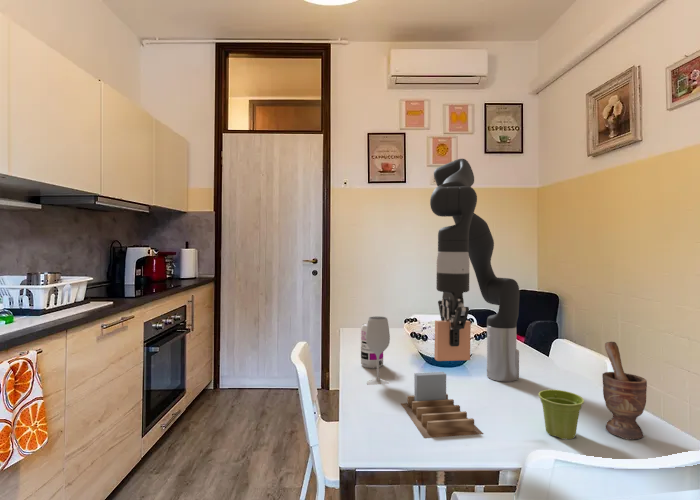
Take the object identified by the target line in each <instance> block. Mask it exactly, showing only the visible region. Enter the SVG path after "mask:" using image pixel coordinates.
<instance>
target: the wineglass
mask: <svg viewBox="0 0 700 500" xmlns="http://www.w3.org/2000/svg"><path fill="white" fill-rule="evenodd" d="M367 323H368V324H367V331H366V343H367V346H368V347H369V348H370V350H371V351H372V352H374V353H375V354H376V357H377V368H376V377H375V379H370V380H368V381H366V385H367V386H375V385H377V386H378V385H389V384H390V382H389V381H388V380H386V379H385V380H384V379H382V378H381V377H380V367H379V356H380V354H381V353H382V352H383V353H384V352H385V351H386V350H387V348H388V347H389V346H390V340H391V337H390V336H391V335H390V327H389V321H388V317H386V316H369V317H368V319H367Z"/></svg>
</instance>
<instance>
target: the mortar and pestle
mask: <svg viewBox="0 0 700 500" xmlns="http://www.w3.org/2000/svg"><path fill="white" fill-rule="evenodd" d="M604 348H605V352H606V355H607V357H608V359H609V361H610V365H611V368H612V370H613V371H605V372H603V373H602V375H601V376H602V393H603V394H602V395H603V400H604V403H605V407H606V408H607V410H608V411H609V412H610V413H611V414H612V418H610V419H609V420H607V421H606V424H605V431H607V432H608V433H610V434H612V435H615V436H616V437H619V438H622V439H625V440H628V441H629V440H637V439H642V438H644V433H643V430H642V428H641V426H640V425H639V424H638V422H637V421H636V420H637V418H638V417H640V416H641V415H643V413H644V411H645V407H646V404H647V392H648V391H647V390H648V389H647V388H648V382H647V381H648V380H647V379H645V378H644V377H642V376H639V375H636V374H631V373H626V372H625V370H624V368H623V364H622V359H621V354H620V349H619V346H618V344H617V343H616V342H615V341H608V342H607V341H606V342H605V343H604Z"/></svg>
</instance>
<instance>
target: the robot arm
mask: <svg viewBox="0 0 700 500" xmlns="http://www.w3.org/2000/svg"><path fill="white" fill-rule="evenodd" d="M433 179H434V181H435V183H436V187H435V188H434V189H433V190H432V192H431V193H432V194H431V196H430V200H429V204H430V205H429V206H430V210H431V211H432V213H433V214H434V215H435V216H438V217H446V218H447V217H452V219H453V222H454V224H453V225H448V226H447V225H446V226H443V227H440V228H439V229H438V231H437V233H438V234H437V256H436V285H435V286H436V290H437V291H438V292H442V299H441V300H438V301H437V305H438V309H439V310H438V311H439V316H440V321H449V329H450V340H449V344H450V346H459V330H461V329H464V327H465V323H466V320H467V319H468V317H469V312H470V308H469V306H465V305H464V303H465V302H464V295H463V294H464V293H468V292H469V291H470V263H471V265H472V268H473V270H474V274H475V277H476V281H477V284H478V287H479V288H478V289H479V291H480V294H481V296H482V298H483V300H484V301H485V302H486V303H487V304H490V305H496V306H498V312H497V313H496V314H491V315H489V316H487V319H486V377H487V378H488V379H491V380H494V381H497V382H505V383H506V382H514V381H517V380H520V351H519V349H518V348H517V323H518V318H519V314H520V311H519V310H520V297H521V296H520V295H521V292H520V287H519V284H518V282H517V281H516V279H513V278H508V277H497V276H496V274H495V272H494V270H493V266H492V263H491V261H492V257H493V254H494V253H493V252H494V248H495V241H494V240H495V239H494V237H493V235H492V232H491V229H490V228H489V224H488V222H486V220H485V219H483V218H482V217H481V216H479V215H478V214H476V213H475V209H476V207H477V203H478V195H477V192H476V190H475V189H474V188H473V185H474V184H475V175H474V172H473V169H472V166H471V165H470V163H469V161H468V160H467V159H466V158H458V159H455V160H452V161H450V162H448V163H445V164H443V165H441V166H439V167H437V168H435V169H434V171H433ZM467 321H468V320H467Z"/></svg>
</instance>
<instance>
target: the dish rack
mask: <svg viewBox="0 0 700 500" xmlns="http://www.w3.org/2000/svg"><path fill="white" fill-rule="evenodd" d="M454 401H455V400H454V399H453V398H452V399H451V398H449V394H448V393H446V400H429V401H414V395H407V402H404V403H400V405H401V407H402V408H403V409H404V411H405V412H406V414H407V416H408V417H409V418H410V420H411V421H412V423H413V424H414V425H415V428H416V429H417V430H418V431H419V433H420V434H421V436H422V437H423V439H430V438H431V439H433V438H446V437H459V436H460V437H461V436H462V437H463V436H473V435H484V432H483V431H482V430H480V429H479V428H478V427H477V425H476V424H475V419H474V418H473V417H472V418H471V417H470V418H468V413H467V411H461V405H459V404H456V405H455V402H454Z"/></svg>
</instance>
